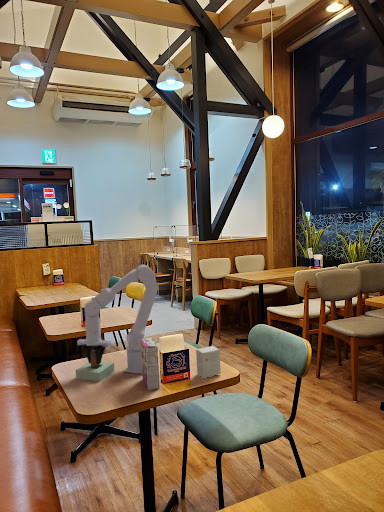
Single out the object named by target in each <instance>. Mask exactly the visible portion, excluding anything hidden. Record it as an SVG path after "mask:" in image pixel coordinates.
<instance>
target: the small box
mask: <svg viewBox="0 0 384 512" xmlns="http://www.w3.org/2000/svg"><path fill="white" fill-rule="evenodd" d="M195 352H196V353H195V354H196V375H197V374H198V375H197V376H199V377H200V376H201V377H200V378H202V379H203V378H206V379H208V378H207V377H210V378H212V377H211V376H214V375H218V374H221V349H220V348H217V347H216V346H214V345H211V346H206V347H200V348H197V349H196V351H195ZM218 376H219V375H218ZM214 377H215V376H214Z"/></svg>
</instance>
